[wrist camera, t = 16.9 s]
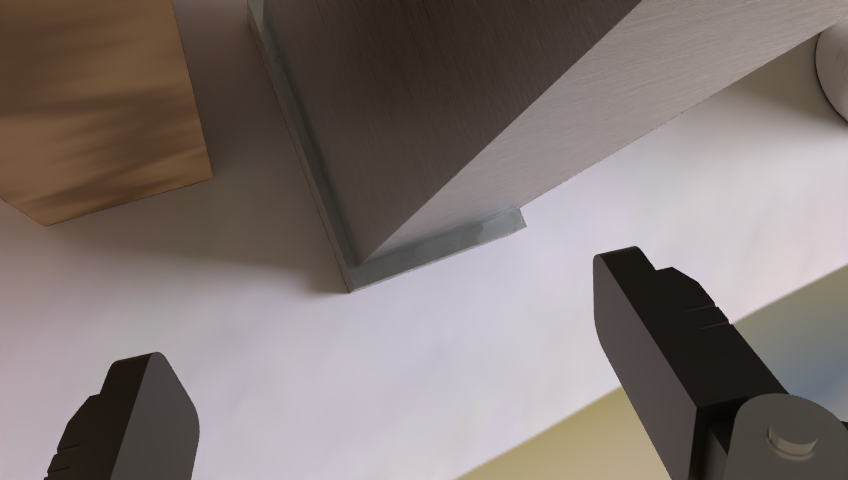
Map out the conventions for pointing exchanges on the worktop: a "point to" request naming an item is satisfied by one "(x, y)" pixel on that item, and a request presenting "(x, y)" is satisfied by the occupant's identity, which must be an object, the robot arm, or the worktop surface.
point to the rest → (94, 106)
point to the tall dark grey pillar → (489, 102)
